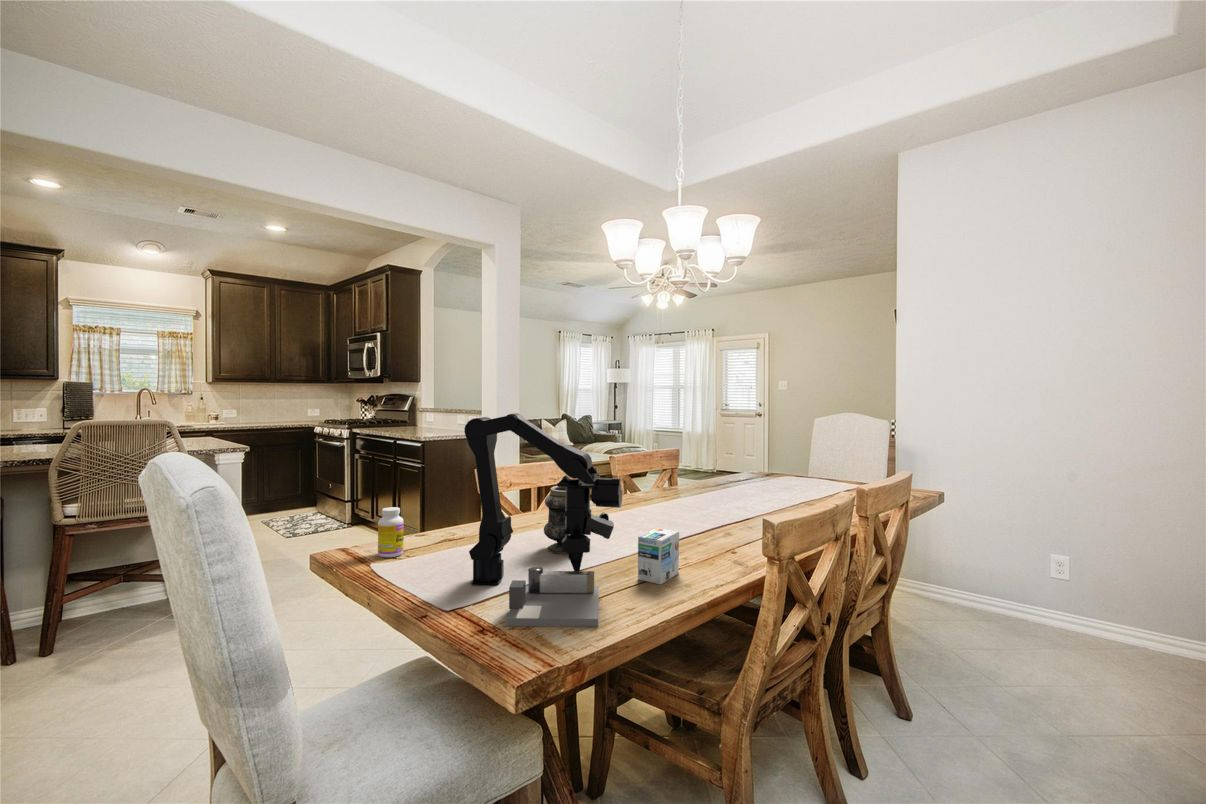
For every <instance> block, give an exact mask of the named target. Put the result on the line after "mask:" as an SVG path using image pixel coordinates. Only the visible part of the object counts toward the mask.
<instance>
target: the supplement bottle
mask: <svg viewBox="0 0 1206 804" xmlns="http://www.w3.org/2000/svg"><path fill="white" fill-rule="evenodd" d="M400 513H401V508H400V507H398V506H397V507H395V506H391V507H384V508H382V509H381V515H382V517H380V519H378V522H377V554H378V556H379V557H381V558H387V559H388V558H396V557H399V556H402V554H403V553H404V530H405V529H404V527H405V526H404V525H405V523H404V521H405V520H404V518H403V517H401V516H400Z"/></svg>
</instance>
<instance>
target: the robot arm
mask: <svg viewBox="0 0 1206 804" xmlns="http://www.w3.org/2000/svg"><path fill="white" fill-rule="evenodd" d="M503 432H504V433H505V432H512V433H514V434H515V435H516V436H517V437H519V438H521V439H523V441H526V442H527V443H529V444H530V445H531V446H533V447H535V448H536V449H538V450H539V451H540V452H542V453H544V454H545V455H546V456H548V457H550V459H552V461H553V462H554V463H555V464H556V466H557V467H558V468H559V469H560V470H561V471H562V472H563V473H564V474H566V475H564V476H563V477H562V479H561V480H560V481H559V482H558V483H556V486H558V487H566V510H565V534H569V535H567V536H566V537H565V538H564V539H563V540H562V552H564V553H567V554H566V555H567V557H568V560H569V562H570V563H571V566H572V568H573V571H581V570H580V569H581V566H582V565H581V564H582V561H583V556H584V553H585V554H587V553H590V552H591V538H590V537H589V536H591V533H592V534H595V535H599V536H600V537H603V538H604V539H606V540H610V538H611V536H612V535H611V534H612V532H613V531H614V527H615V524H614V522H613V520H610V519H609V518H610V517H609V514H608V513H606V512H601V514H599V515H594V514H592V509H591V502H592V503H593V505H595V506H596V507H598V508H617V509H618V508H620V509H621V508H622V502H623V490H622V483H621V480H622V479H621V477H612V478H607V477H601V476H600V474H599V473H598V471H597V470H596V468H595V467H594V466H593V460H592V457H591V455H590V454H589V453H588V452H586V451H584V450H581V449H579V448H576V447H574V446H571V445H568V444H566V443H564V442H561V441H560V440H558V439H557V438H555V437H553V436H552V435H550V434H549V433H547V432H546V431H544V430H543V429H541V428H540V427H538V426H536V425H535V424H534V423H533V422H530V421H529V419H526V418H525V417H523V415H522V414H520V413H516V412H515V413H509V414H507V415H504V416H500V417H495V418H491V417H488V416H483V417H475V418H471V419H469V420H468V421H467V422H466V424H465V425H464V435H465V438H466V442H467V446H468V447H469V449H470V451H471V452H472V454H473V456H474V460H475V469H476V475H477V476H476V477H477V484H478V493H479V499H480V507H481V519H480V524H479V527H478V542H477V543H476V544H475V545H473V547H472V548H471V549H470V550H469V551H468V554H469V557H470V559H471V560H472V580H471V582H470V584H471V585H477V586H478V585H485V586H488V585H489V586H490V585H491V586H492V585H495V586H496V585H497V584H498V585H499V584H500V582H501V581H502V580H503V578H504V572H505V571H504V568H505V566H504V559H502V551H503V550H504V548H505V546H506V545H507V544H508V543H509V542H510V541H511V538H512V533H514V529H513V527H512V517H511V516H505V514H504V512H503V511H502V505H501V497H500V490H499V489H500V487H499V482H498V474H497V467H496V459H495V452H496V451H495V450H496V447H497V446H496V445H497V442H498V434H500V433H501V434H502V433H503Z"/></svg>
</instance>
